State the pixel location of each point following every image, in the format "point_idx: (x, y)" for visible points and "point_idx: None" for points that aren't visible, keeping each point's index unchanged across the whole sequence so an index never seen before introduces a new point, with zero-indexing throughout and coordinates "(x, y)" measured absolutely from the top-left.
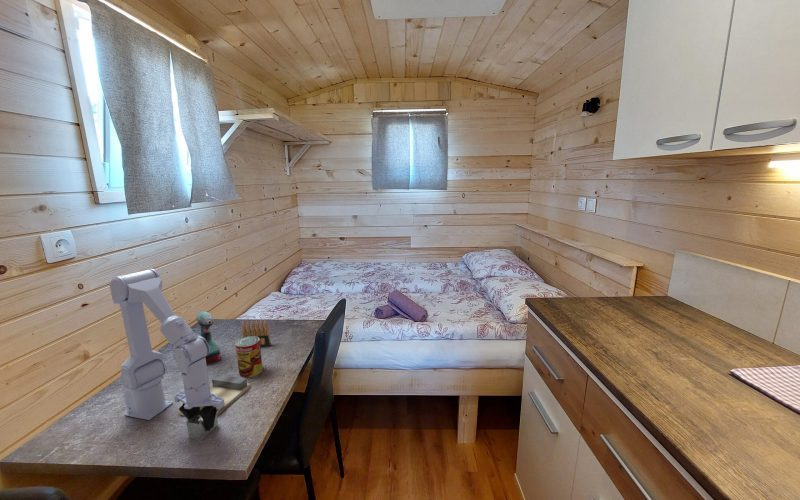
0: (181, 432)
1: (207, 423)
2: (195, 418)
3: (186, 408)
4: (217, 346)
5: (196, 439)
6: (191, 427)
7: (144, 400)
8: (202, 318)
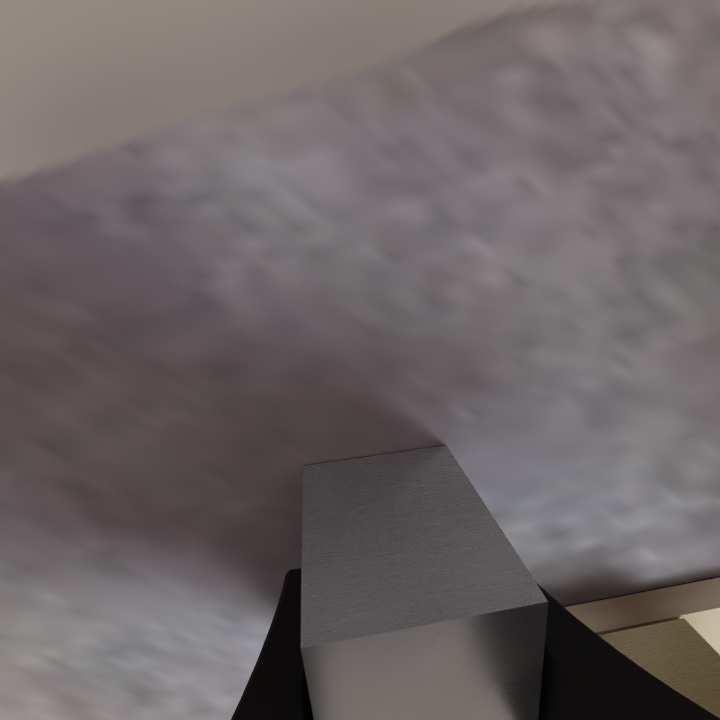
0: (570, 464)
1: (252, 677)
2: (467, 688)
3: None
4: None
5: (359, 458)
6: (434, 549)
7: None
8: None
